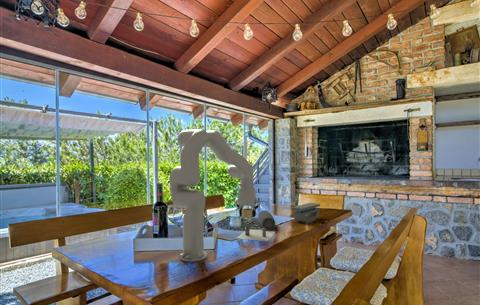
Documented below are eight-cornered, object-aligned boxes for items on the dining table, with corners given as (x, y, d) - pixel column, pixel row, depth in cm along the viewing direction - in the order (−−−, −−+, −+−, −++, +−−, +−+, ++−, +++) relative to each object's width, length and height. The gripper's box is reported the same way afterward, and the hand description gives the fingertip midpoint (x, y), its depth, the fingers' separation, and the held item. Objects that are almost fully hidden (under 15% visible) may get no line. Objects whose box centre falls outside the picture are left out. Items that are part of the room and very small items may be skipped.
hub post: (248, 235, 164) (248, 226, 164) (244, 235, 165) (244, 226, 165) (250, 234, 166) (250, 225, 166) (245, 234, 167) (245, 225, 167)
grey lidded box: (310, 217, 218) (310, 202, 218) (320, 218, 212) (320, 203, 212) (291, 222, 200) (291, 207, 200) (301, 224, 194) (301, 208, 195)
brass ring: (251, 218, 162) (251, 211, 162) (240, 217, 164) (239, 210, 164) (255, 215, 168) (254, 208, 168) (243, 214, 170) (243, 208, 170)
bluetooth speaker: (257, 224, 198) (257, 209, 198) (270, 223, 198) (270, 209, 198) (261, 233, 175) (260, 216, 175) (276, 232, 175) (276, 216, 175)
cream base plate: (267, 243, 153) (267, 232, 153) (235, 240, 159) (235, 229, 160) (275, 234, 172) (275, 224, 172) (247, 231, 178) (247, 221, 178)
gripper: (230, 186, 165) (231, 217, 165) (259, 186, 159) (260, 218, 160) (235, 184, 172) (235, 214, 173) (263, 185, 167) (263, 215, 167)
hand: (247, 216), depth 166 cm, fingers closed on brass ring, 6 cm apart
